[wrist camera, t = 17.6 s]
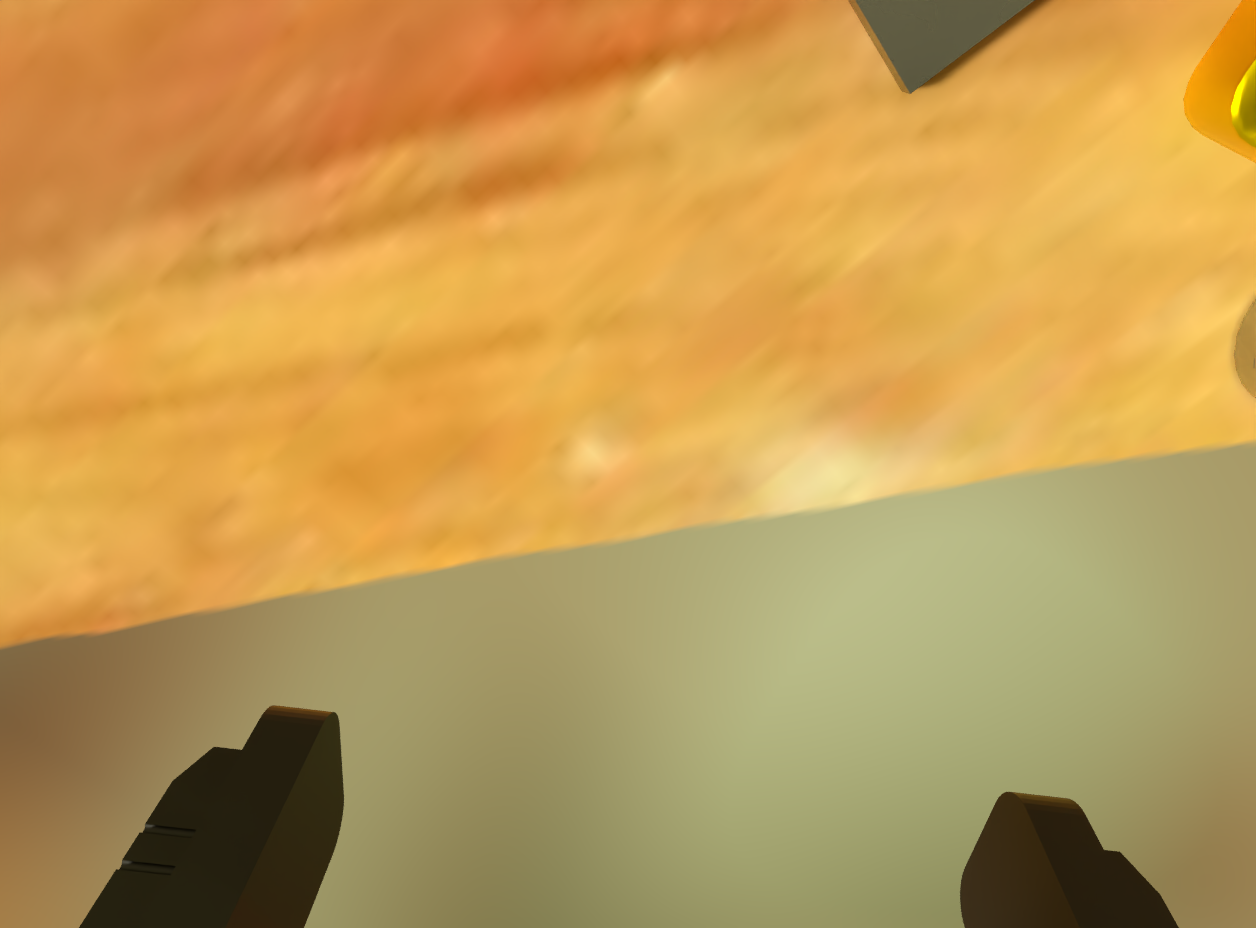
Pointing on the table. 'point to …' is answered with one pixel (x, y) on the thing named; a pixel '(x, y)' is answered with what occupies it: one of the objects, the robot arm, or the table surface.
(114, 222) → the table surface
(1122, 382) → the table surface
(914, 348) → the table surface
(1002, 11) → the offcut rack
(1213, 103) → the copper element tile
